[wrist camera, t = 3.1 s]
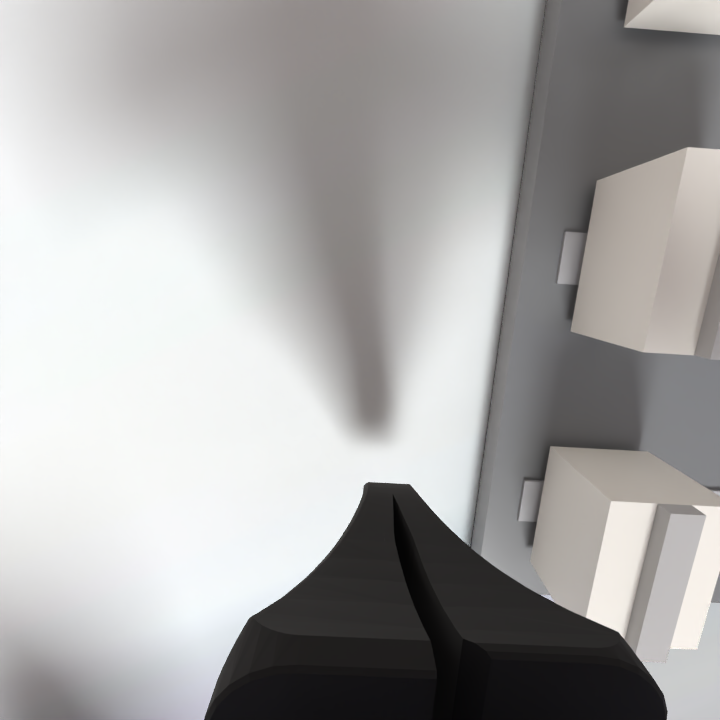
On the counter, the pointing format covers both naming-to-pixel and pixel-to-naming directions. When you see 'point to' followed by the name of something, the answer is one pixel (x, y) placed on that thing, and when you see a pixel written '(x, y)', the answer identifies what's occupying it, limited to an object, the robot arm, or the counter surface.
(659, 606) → the block
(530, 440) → the switch panel
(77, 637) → the counter surface
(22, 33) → the counter surface
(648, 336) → the middle slider
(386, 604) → the robot arm
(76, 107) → the counter surface
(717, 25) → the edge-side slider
